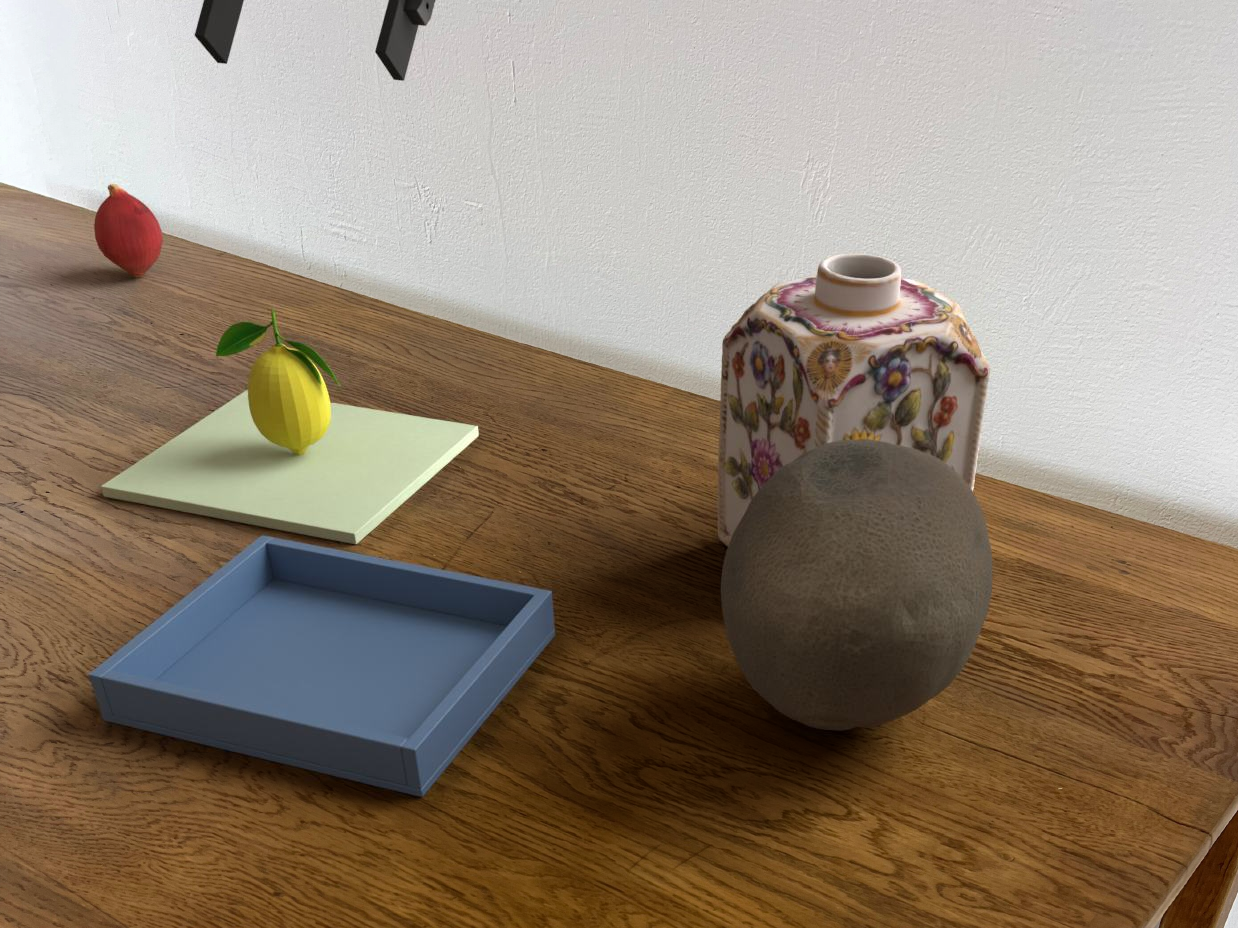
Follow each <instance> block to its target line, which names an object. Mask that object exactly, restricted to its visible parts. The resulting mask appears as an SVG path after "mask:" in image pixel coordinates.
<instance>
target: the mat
mask: <svg viewBox="0 0 1238 928" xmlns="http://www.w3.org/2000/svg"><path fill="white" fill-rule="evenodd" d="M330 405H331V421H330V425H329V428H328V430H327V431H326V433H325V435H324V436H323V437H322V438H321V439H320V440H318V441H317V442H316V443H314V444H312V445H310V446H308V448H307V450H306V451H305V453H304V454H301V455H297V454H295V453H293V452H292V451H291V450H290V449H289V448H286V447H282V446H279V445H276V444H274V443H272V442H270V441H269V440H267V439H266V438H265V437H264V436H263V435H262V434H261V433H260V432H259V430H258V429H257V427H256V425H255V423H254V422H253V419H252V416H251V413H250V408H249V401H248V389H246V390H244V391H243V392H241V393H240V394H238V395H237V396H235V397H234V398H232V399H230V400H229V401H227V402H226V403H224V404H223V405H222V406H220V407H218V408H217V409H216V410H214V411H213V412H211V413H209V414H208V415H206V416H205V417H204V418H202V419H201V420H199V421H197V422H196V423H194V424H193V425H191V426H190V427H188V428H187V429H185V430H184V431H182V432H181V433H179V434H178V435H176V436H175V437H173V438H171V439H170V440H168V441H167V442H165V443H164V444H162V445H161V446H159V447H158V448H156V449H155V450H153V451H152V452H150V453H149V454H147V455H146V456H144V457H142V458H141V459H140V460H138V461H137V462H135V463H133V464H132V465H131V466H130V467H128V468H126V469H124V470H123V471H122V472H120V473H119V474H117V475H116V476H114V477H113V478H111V479H109V480H108V481H107V482H105V483H104V484H102V485H101V486H100V488H101V492H102V495H103V497H104V498H108V499H109V498H110V499H116V500H119V501H124V502H131V503H135V504H142V505H146V506H151V507H157V508H162V509H166V510H167V509H168V510H172V511H177V512H183V513H188V514H193V515H198V516H204V517H209V518H214V519H220V520H225V521H231V522H236V523H241V524H247V525H251V526H257V527H262V528H267V529H271V530H272V529H273V530H278V531H283V532H288V533H293V534H299V535H303V536H304V535H305V536H309V537H315V538H320V539H324V540H330V541H335V542H339V543H346V544H351V545H358V544H359V543H360V542H361V541H362V540H363V539H364V538H366V537H367V536H368V535H369V534H370V533H371V532H373V530H375V529H376V528H377V527H378V526H379V525H381V523H383V522H384V521H385V520H386V519H387V518H388V517H389V516H391V515H392V514H393V513H394V512H395V511H396V510H397V509H398V508H399V507H401V506H402V505H403V504H404V503H405V502H407V501H408V500H409V498H411V497H412V496H413V495H415V493H416V492H417V491H419V490H420V489H421V488H422V487H423V486H424V485H425V484H426V483H427V482H429V481H430V480H431V479H432V478H434V476H436V475H437V474H438V473H439V472H440V471H441V470H442V469H443V468H445V467H446V466H447V465H448V464H450V462H451V461H453V459H454V458H456V457H457V456H458V455H459V454H460V453H462V452H463V450H465V449H466V448H467V447H468V446H469V445H470V444H472V443H473V442H474V441H475V440H476V439H478V437H479V436H480V432H479V425H476V424H475V425H474V424H468V423H462V422H455V421H451V420H450V421H449V420H442V419H436V418H431V417H430V418H429V417H424V416H418V415H411V414H406V413H405V414H404V413H401V412H400V413H398V412H394V411H388V410H387V411H385V410H380V409H374V408H368V407H361V406H355V405H348V404H343V403H337V402H331V401H330Z"/></svg>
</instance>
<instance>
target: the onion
mask: <svg viewBox="0 0 1238 928" xmlns="http://www.w3.org/2000/svg"><path fill="white" fill-rule="evenodd" d="M107 190H108V193H109V196H107V197H106V198H105V199H104V200H103V201H102V203H100V206H99V207H98V209H97V211H96V213H95V217H94V224H93V229H94V239H95V241H96V245H97V247H98V249H99V251H100V252H101V253H102V254H103V256H104V257H105V258H106V259H108V260H109V261H110V262H111V263H113V264H114V265H115V266H117V267H118V268H120V269H122V270H124V272H127V273H128V274H129V275H131V276H132V277H134V278H142V277H143V276H144V275H145V274H146V273H147V272H148V271H149V270H150V269H151V268H152V267H153V266H154V265H155V263H156V262H157V260H158V259H159V257H160V255H161V252H162V246H163V242H164V239H163V230H162V229H161V226H160V223H159V220H158V219H157V217H156V216H155V214H154V213H153V211H152V210H151V209H150V208H149V207H148V206H147V205H146V204H145V203H144V202H142V200H140V199H138V198H137V197H135V196H134V195H132V194H130V193H128V192H127V191H126V190H124V189H123V188H121V186H119V185H118V184H115V183H110V184H108V186H107Z"/></svg>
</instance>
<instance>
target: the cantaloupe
mask: <svg viewBox="0 0 1238 928" xmlns="http://www.w3.org/2000/svg"><path fill="white" fill-rule="evenodd" d="M993 574H994V573H993V556H992V547H991V542H990V537H989V533H988V526H987V521H986V518H985V514H984V512H983V509H982V506H981V504H980V502H979V500H978V498H977V496H976V495H975V493H974V490H973V491H972V490H971V488H970V487H969V486H968V485H967V483H966V482H965V481H964V480H963V479H962V477H961V476H960V475H959V474H958V473H957V472H956V471H954V470H953V469H952V468H951V467H950V466H949V465H947V464H946V463H945V462H943V461H941V460H940V459H938V458H936V457H934V456H932V455H930V454H927V453H924V452H921V451H918V450H916V449H912V448H909V447H906V446H900V445H895V444H891V443H887V442H883V441H877V440H871V439H860V440H842V441H835V442H830V443H827V444H824V445H822V446H819V447H817V448H814V449H812V450H810V451H807V452H805V453H804V454H802V455H800V456H799V457H798V458H796V459H795V460H794V461H792V462H790V463H788V464H786V465H784V466H783V467H781V468H780V469H779V470H778V471H777V472H776V473H775V474H774V475H773V476H772V477H771V478H770V479H769V480H768V481H767V482H766V483H765V484H764V485H763V486H762V487H761V488H760V490H759V491H758V492H757V493H756V495H755V496H754V497H753V499H752V500H751V502H750V503H749V505H748V507H747V510H746V512H745V514H744V516H743V517H742V519H741V521H740V522H739V524H738V526H737V527H736V529H735V531H734V533H733V535H732V537H731V540H730V543H729V546H727V549H726V552H725V556H724V560H723V565H722V571H721V580H720V581H721V582H720V599H721V610H722V617H723V622H724V628H725V632H726V635H727V636H726V637H727V639H728V643H729V645H730V648H731V651H732V653H733V657H734V659H735V661H736V663H737V665H738V667H739V669H740V671H741V673H742V675H743V676H744V678H745V680H746V681H747V682H748V684H749V685H750V686H751V687H752V689H754V691H755V692H757V694H758V695H759V696H760V697H762V698H763V699H764V700H765V701H766V702H768V704H770V705H771V706H772V707H773V708H774V709H776V711H778V712H779V713H781V714H782V715H784V716H785V717H787V718H789V719H791V720H792V721H793V720H794V721H796V722H798V723H800V724H803V725H805V726H806V727H810V728H814V729H817V730H825V731H838V732H841V731H847V730H852V729H854V728H863V729H864V728H865V729H867V728H868V729H869V728H874V727H878V726H881V725H884V724H888V723H890V722H893V721H895V720H898V719H901V718H902V717H904V716H907V715H908V714H911V713H913V712H915V711H916V710H918V709H919V708H921V707H922V706H924V705H925V704H926V703H928V702H929V701H930V700H932V699H933V698H935V697H937V696H938V695H939V694H941V693H942V692H943V691H944V690H945V689H947V688H948V687H949V686H950V685H951V684H952V683H953V681H955V679H956V678H957V677H958V675H959V674H960V673H961V672H962V670H963V669H964V667H965V666H966V664H967V662H968V661H969V660H970V657H971V655H972V652H973V651H974V648H975V646H976V644H977V642H978V639H979V637H980V633H981V631H982V628H983V626H984V625H985V622H986V618H987V615H988V612H989V607H990V603H991V599H992V592H993V577H994V576H993Z"/></svg>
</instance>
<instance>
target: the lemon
mask: <svg viewBox="0 0 1238 928" xmlns="http://www.w3.org/2000/svg"><path fill="white" fill-rule="evenodd" d="M270 315H271V321H270V323H268V324H267V325H262V324H258V323H255V322H251V321H240V322H236V323H233V324H232V325H230V326H229V327H228V328H227V329H226V330H225V331H224V332H223V334H222V335H221V337H220V339H219V342H218V344H217V347H216V352H215V357H216V358H217V357H226V356H227V357H228V356H233V355H236V354H238V353H242V352H244V351H246V350H247V349H250V348H251V347H253V346H255V345H256V344H258V343H259V342H261V341H262V340H263V339H264V337H265V336H266V335H267V334H266V333H267V330H268V328H270V327H271V326H272V329H273V335H274V338H275V342H276V343H275V344H274V345H273V346H272V347H271V348H270V349H268V350H266V351H264V352H263V353H261V354H260V355H259V356H258V357H257V358H256V360H255V361H254V363H253V364H252V366H251V369H250V372H249V376H248V380H247V381H248V382H247V390H248V401H249V408H250V413H251V416H252V419H253V422H254V423H255V425H256V427H257V429H258V430H259V432H260V433H261V434H262V435H263V436H264V437H265V438H266V439H267V440H269V441H270V442H272V443H274V444H276V445H279V446H282V447H286V448H289V449H290V450H291V451H292V452H293V453H295V454H297V455H301V454H304V453H305V451H306V450H307V448H308V446H310V445H312V444H314V443H316V442H317V441H318V440H320V439H321V438H322V437H323V436H324V435H325V433H326V431H327V430H328V428H329V425H330V421H331V405H330V402H331V399H330V395H329V391H328V387H327V385H326V383H325V380H324V378H323V376H322V374H321V372H320V370H319V369H318V367H319V368H320V369H321V370H322V371H323V372H325V373H326V374H327V375H328V376H329V377H330V378H331V379H332V380H333V381H334V382H335V383H336V384H337V385H338V387H341V384H340V382H339V381H338V379H337V378H336V376H335V374H334V372H333V371H332V369H331V368H330V366H329V365H328V364H327V363H326V361H325V360H324V359H323V357H321V355H320V354H318V352H317V351H316V350H315V349H313V348H312V347H311V346H309V345H307V344H305V343H302V342H300V341H293V340H288V339H286V338H285V337H283V336H282V335H281V334H280V333H279V332H278V328H277V327H278V326H277V321H276V313H275V309H271V311H270ZM280 339H281V340H283V341H284V342H285V343H287V344H288V345H290V347H287V345H285V344H284V343H282V342H281V340H280ZM317 366H318V367H317Z"/></svg>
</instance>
